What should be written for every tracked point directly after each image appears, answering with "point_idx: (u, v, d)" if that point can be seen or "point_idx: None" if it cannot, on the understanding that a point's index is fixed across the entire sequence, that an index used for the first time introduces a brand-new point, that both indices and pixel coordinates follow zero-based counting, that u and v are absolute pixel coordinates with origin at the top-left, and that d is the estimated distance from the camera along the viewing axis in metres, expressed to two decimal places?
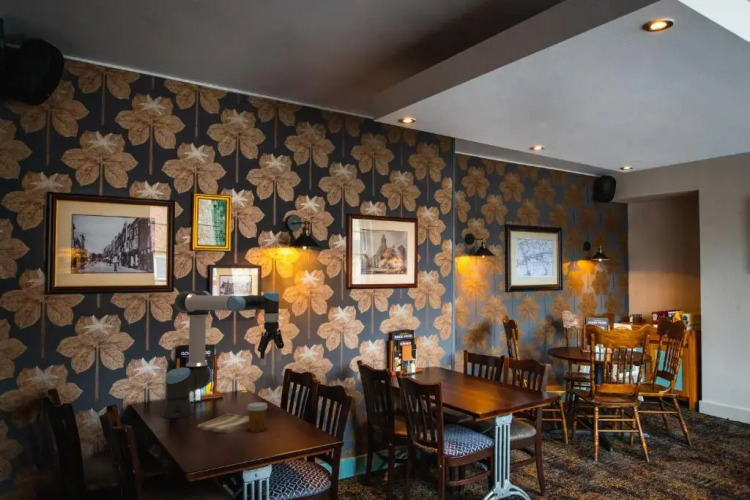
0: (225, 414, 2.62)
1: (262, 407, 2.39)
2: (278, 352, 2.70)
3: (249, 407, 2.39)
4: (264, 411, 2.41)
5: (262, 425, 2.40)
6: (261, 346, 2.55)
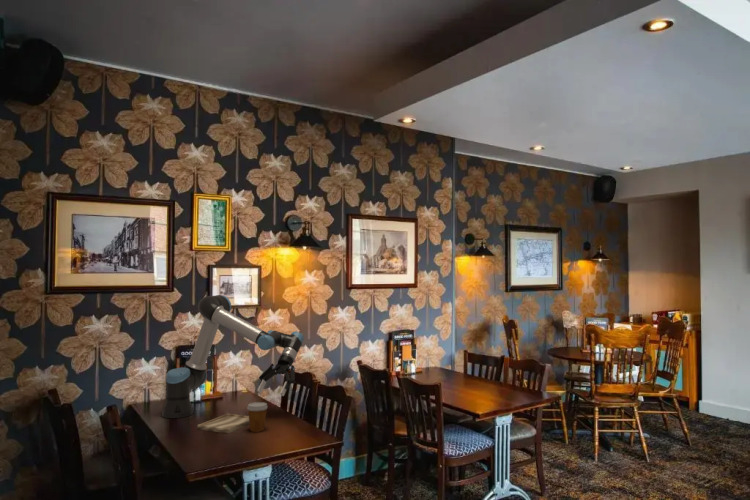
0: (225, 414, 2.62)
1: (262, 407, 2.39)
2: None
3: (249, 407, 2.39)
4: (264, 411, 2.41)
5: (262, 425, 2.40)
6: None
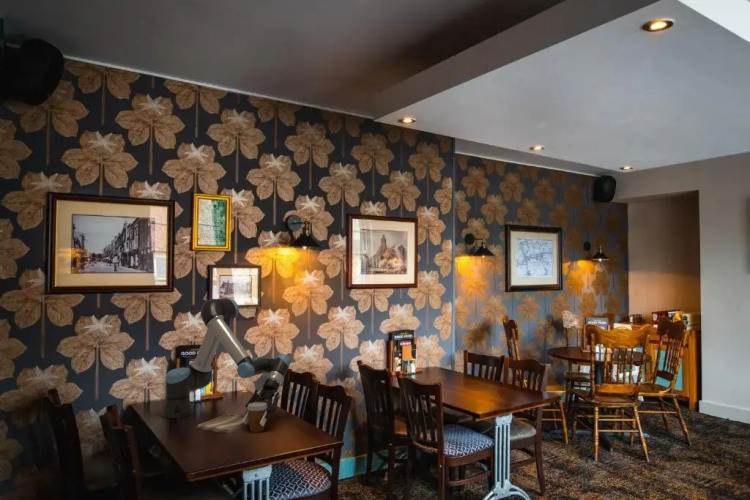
0: (225, 414, 2.62)
1: (262, 407, 2.39)
2: None
3: (249, 407, 2.39)
4: (264, 411, 2.41)
5: None
6: None
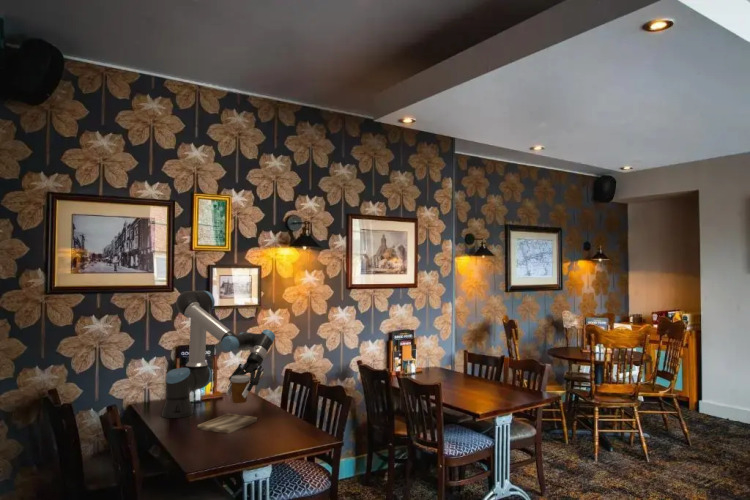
0: (225, 414, 2.62)
1: (245, 379, 2.45)
2: None
3: (232, 379, 2.45)
4: (247, 383, 2.46)
5: None
6: None
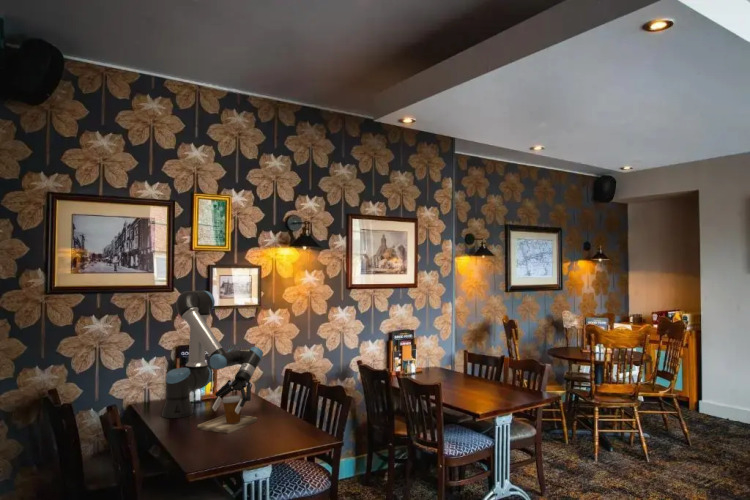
0: None
1: (236, 399, 2.48)
2: None
3: (224, 400, 2.48)
4: None
5: (237, 416, 2.48)
6: None
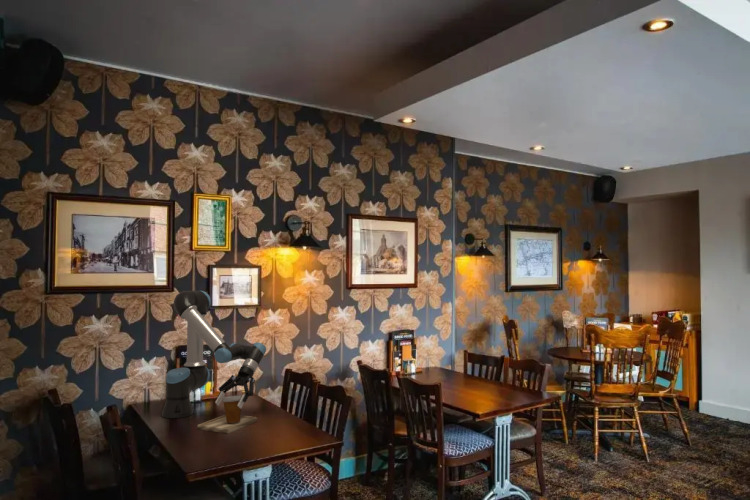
0: (225, 414, 2.62)
1: (236, 398, 2.48)
2: None
3: (224, 399, 2.49)
4: None
5: (238, 416, 2.48)
6: None
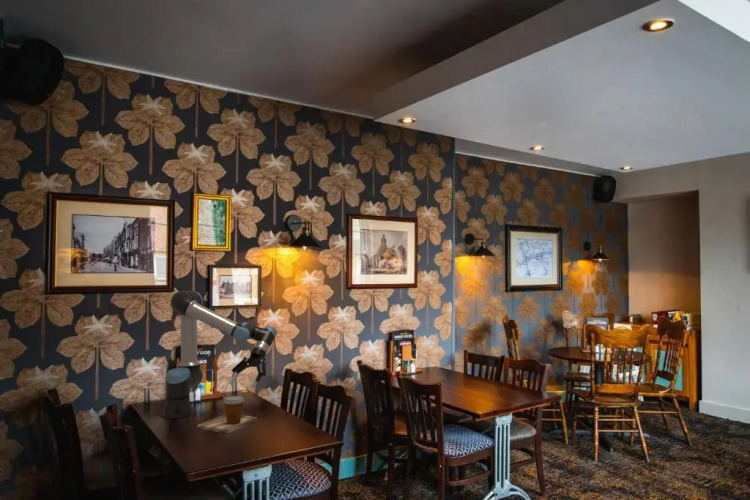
0: (225, 414, 2.62)
1: (238, 400, 2.47)
2: None
3: (225, 400, 2.47)
4: (240, 404, 2.48)
5: (238, 418, 2.48)
6: None
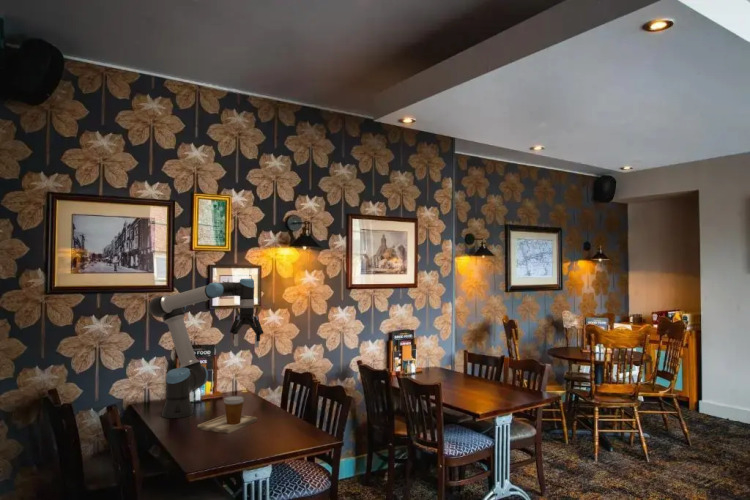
0: (225, 414, 2.62)
1: (238, 400, 2.47)
2: None
3: (225, 400, 2.47)
4: (240, 404, 2.48)
5: (238, 418, 2.48)
6: None
